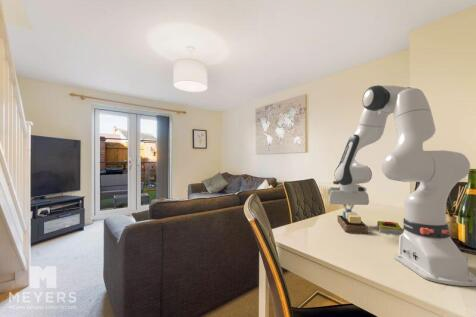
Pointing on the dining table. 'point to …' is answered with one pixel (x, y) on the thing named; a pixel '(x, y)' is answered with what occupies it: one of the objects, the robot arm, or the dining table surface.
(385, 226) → the emergency button
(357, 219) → the yellow block
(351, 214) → the white block
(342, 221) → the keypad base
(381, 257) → the dining table surface
